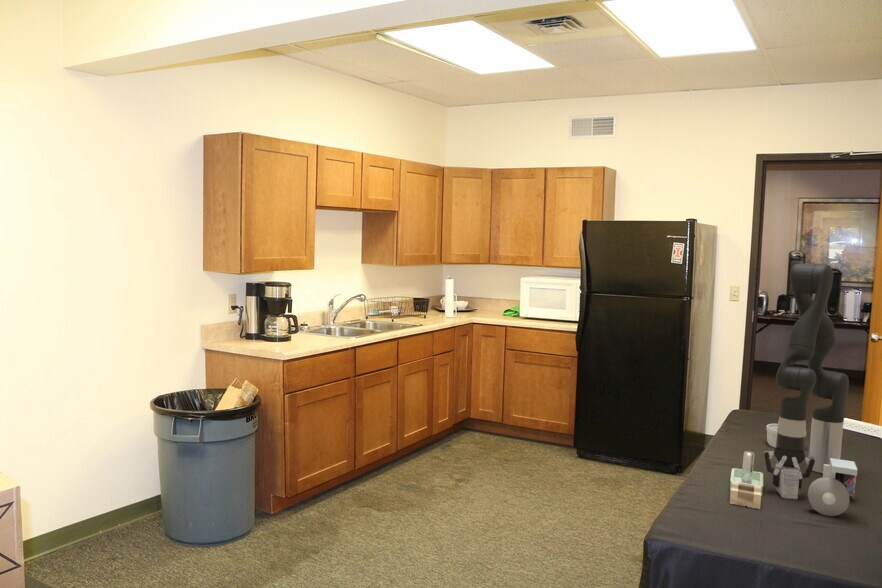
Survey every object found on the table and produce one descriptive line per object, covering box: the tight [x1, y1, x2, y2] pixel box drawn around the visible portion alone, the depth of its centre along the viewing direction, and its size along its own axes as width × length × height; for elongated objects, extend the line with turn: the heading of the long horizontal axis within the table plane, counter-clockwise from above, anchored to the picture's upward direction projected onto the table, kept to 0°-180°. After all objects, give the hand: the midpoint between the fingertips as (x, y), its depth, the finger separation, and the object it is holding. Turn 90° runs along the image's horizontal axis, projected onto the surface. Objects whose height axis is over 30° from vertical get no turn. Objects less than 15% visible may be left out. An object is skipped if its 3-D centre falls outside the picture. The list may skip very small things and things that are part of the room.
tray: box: [729, 467, 764, 498], centre depth 218 cm, size 14×9×3 cm, turn 156°
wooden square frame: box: [729, 482, 762, 510], centre depth 205 cm, size 8×8×4 cm
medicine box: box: [774, 466, 799, 500], centre depth 212 cm, size 8×4×9 cm, turn 168°
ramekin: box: [765, 423, 807, 448], centre depth 262 cm, size 13×13×7 cm
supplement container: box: [835, 463, 858, 502], centre depth 211 cm, size 7×7×10 cm
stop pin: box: [741, 450, 755, 484], centre depth 217 cm, size 3×3×10 cm
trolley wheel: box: [807, 458, 858, 517], centre depth 198 cm, size 8×11×15 cm
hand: (786, 487), depth 212 cm, fingers closed on medicine box, 5 cm apart
